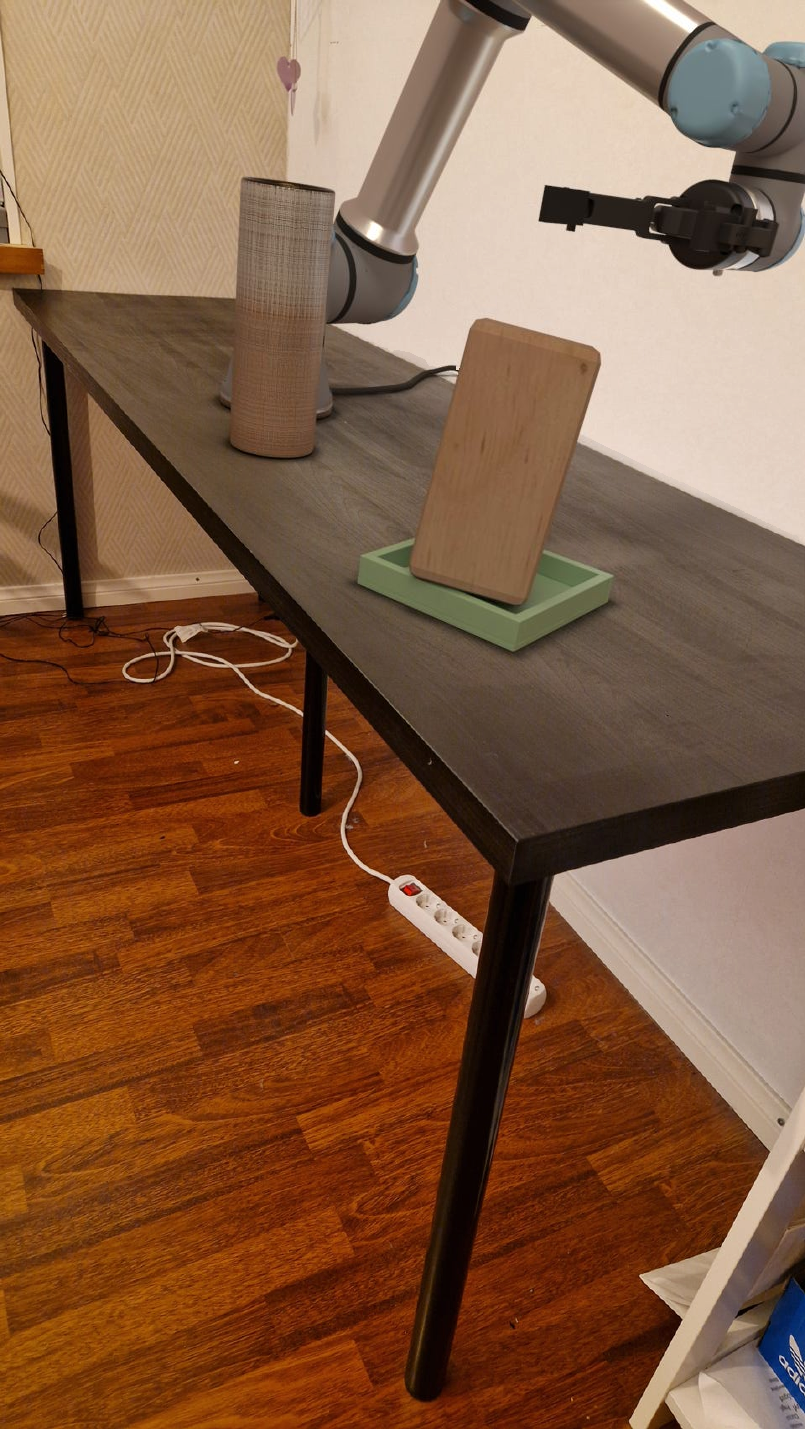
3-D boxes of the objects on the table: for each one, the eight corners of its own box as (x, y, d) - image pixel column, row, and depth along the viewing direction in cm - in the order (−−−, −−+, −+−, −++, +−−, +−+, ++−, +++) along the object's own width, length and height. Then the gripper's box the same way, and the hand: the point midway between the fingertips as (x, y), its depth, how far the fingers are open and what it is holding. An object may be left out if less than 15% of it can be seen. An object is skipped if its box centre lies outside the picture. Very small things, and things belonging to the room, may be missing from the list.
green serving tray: (462, 546, 94) (467, 520, 93) (607, 602, 86) (614, 575, 85) (356, 583, 82) (360, 555, 81) (513, 652, 75) (519, 622, 73)
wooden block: (524, 612, 76) (605, 349, 69) (403, 576, 77) (471, 313, 70) (531, 588, 85) (603, 355, 78) (423, 557, 86) (485, 323, 79)
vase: (212, 443, 113) (221, 174, 99) (264, 431, 121) (279, 179, 107) (279, 464, 109) (298, 188, 95) (329, 450, 117) (353, 192, 103)
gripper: (835, 294, 88) (754, 297, 72) (594, 248, 100) (481, 242, 84) (865, 201, 84) (787, 183, 68) (612, 165, 96) (496, 144, 80)
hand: (618, 216), depth 76 cm, fingers open, 13 cm apart
